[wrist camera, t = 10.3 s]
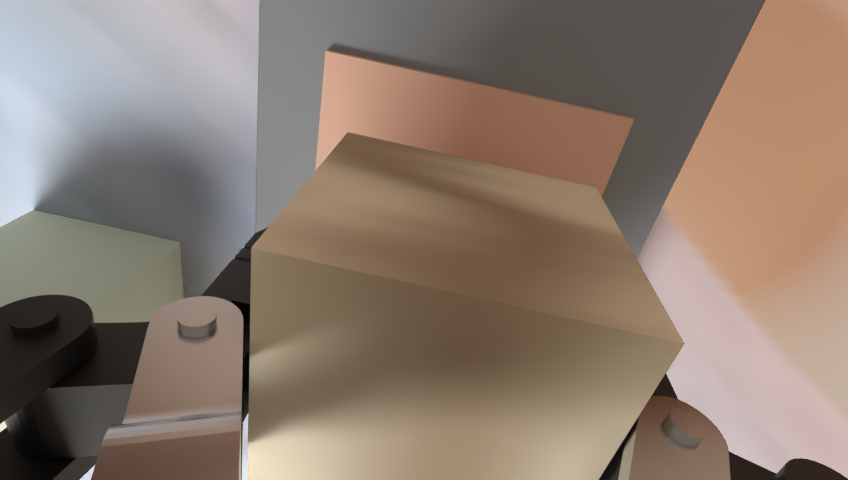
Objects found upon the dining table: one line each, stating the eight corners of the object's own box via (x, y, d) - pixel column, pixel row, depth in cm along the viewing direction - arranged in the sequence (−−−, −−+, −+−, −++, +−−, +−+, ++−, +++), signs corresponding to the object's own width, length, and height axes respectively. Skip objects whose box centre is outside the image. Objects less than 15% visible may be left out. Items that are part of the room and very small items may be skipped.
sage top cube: (62, 321, 18) (-65, 428, 14) (35, 208, 16) (-130, 295, 12) (189, 349, 18) (100, 463, 14) (181, 240, 16) (71, 339, 12)
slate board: (263, 358, 18) (250, 381, 17) (281, -177, 10) (259, -194, 9) (542, 418, 18) (546, 444, 17) (772, -64, 10) (805, -68, 9)
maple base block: (324, 325, 13) (246, 503, 9) (347, 131, 10) (251, 247, 6) (521, 368, 13) (543, 567, 9) (596, 187, 10) (684, 343, 6)
